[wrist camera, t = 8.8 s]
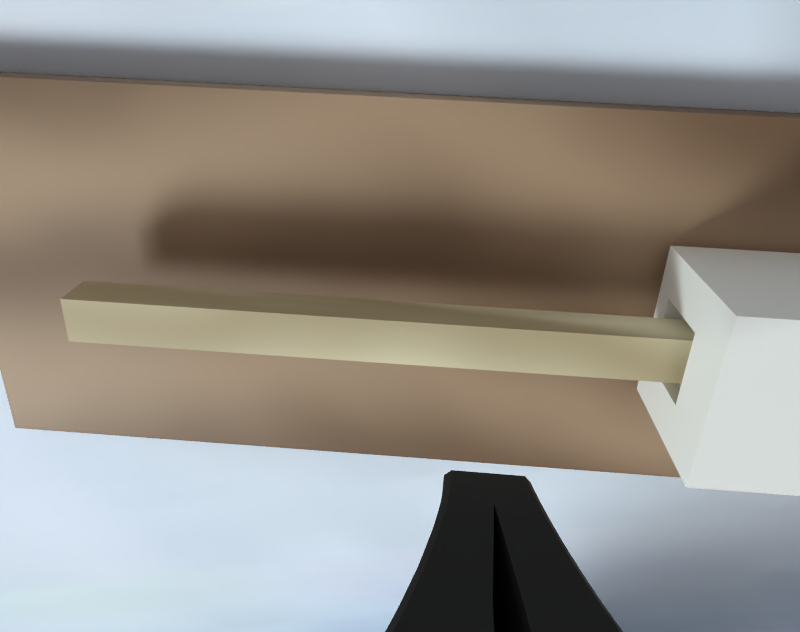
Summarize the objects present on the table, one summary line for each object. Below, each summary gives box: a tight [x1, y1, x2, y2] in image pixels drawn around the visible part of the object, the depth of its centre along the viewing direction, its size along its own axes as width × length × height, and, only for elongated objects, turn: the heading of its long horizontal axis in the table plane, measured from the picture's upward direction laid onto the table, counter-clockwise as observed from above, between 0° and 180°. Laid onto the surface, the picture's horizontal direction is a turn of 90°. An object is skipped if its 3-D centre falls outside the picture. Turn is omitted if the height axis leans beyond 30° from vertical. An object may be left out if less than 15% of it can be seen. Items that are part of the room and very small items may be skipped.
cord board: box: [0, 72, 800, 477], centre depth 17 cm, size 11×30×5 cm, turn 88°
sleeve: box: [637, 246, 800, 496], centre depth 16 cm, size 4×5×4 cm
